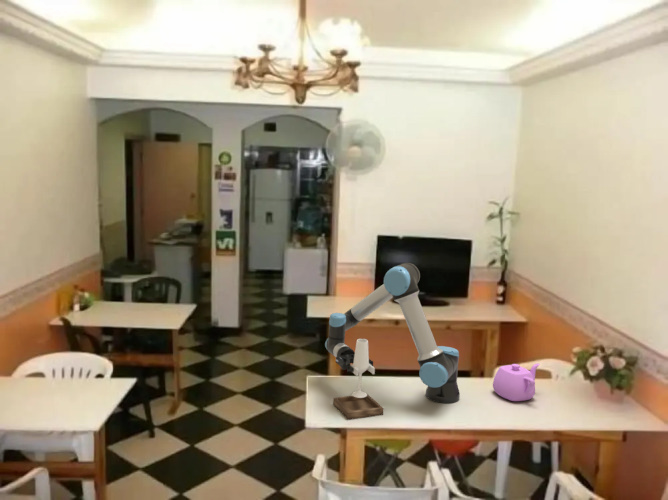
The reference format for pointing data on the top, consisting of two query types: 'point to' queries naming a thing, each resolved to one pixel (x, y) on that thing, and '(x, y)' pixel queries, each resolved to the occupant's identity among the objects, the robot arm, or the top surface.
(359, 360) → the champagne flute
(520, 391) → the teapot
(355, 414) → the walnut tray
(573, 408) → the top surface
